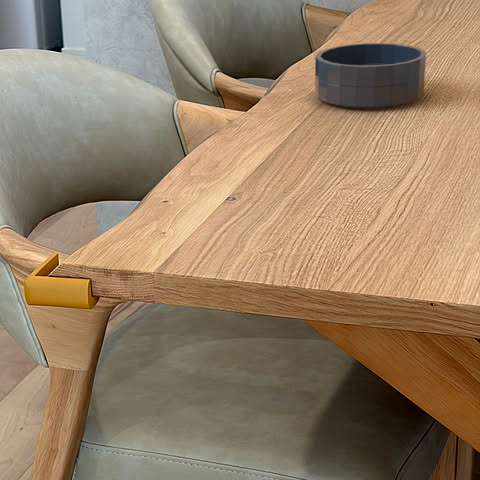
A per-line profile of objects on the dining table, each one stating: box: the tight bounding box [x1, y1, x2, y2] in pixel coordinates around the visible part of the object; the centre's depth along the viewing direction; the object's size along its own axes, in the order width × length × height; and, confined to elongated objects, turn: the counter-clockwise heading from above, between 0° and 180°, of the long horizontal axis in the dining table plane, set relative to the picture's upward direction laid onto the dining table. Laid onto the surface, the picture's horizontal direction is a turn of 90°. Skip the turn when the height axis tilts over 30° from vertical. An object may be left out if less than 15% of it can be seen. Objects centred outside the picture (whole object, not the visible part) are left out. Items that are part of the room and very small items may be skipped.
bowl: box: [314, 42, 427, 110], centre depth 106 cm, size 12×12×5 cm
